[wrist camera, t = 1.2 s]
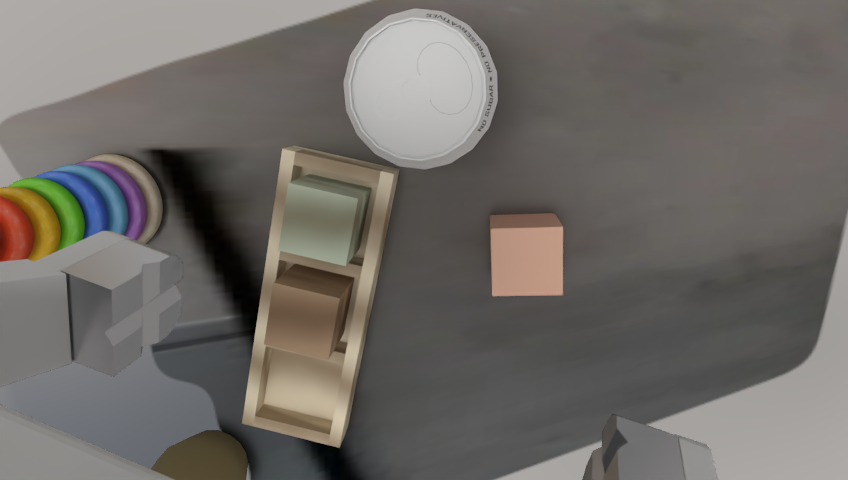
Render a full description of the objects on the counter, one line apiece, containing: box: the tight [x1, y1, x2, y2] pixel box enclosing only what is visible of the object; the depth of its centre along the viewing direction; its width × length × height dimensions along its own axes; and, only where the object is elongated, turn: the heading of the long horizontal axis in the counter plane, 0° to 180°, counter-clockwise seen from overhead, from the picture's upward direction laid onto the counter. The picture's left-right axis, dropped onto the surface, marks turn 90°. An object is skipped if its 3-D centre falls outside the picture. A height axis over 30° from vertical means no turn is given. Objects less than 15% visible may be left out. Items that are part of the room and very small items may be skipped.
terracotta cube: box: [490, 213, 563, 296], centre depth 43 cm, size 5×5×5 cm
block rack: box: [242, 146, 400, 448], centre depth 45 cm, size 24×8×6 cm, turn 168°
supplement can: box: [343, 8, 498, 170], centre depth 36 cm, size 8×8×15 cm
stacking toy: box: [0, 154, 163, 262], centre depth 39 cm, size 8×8×19 cm
